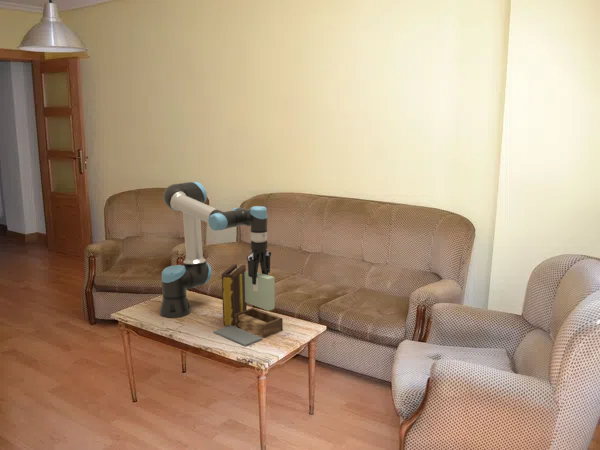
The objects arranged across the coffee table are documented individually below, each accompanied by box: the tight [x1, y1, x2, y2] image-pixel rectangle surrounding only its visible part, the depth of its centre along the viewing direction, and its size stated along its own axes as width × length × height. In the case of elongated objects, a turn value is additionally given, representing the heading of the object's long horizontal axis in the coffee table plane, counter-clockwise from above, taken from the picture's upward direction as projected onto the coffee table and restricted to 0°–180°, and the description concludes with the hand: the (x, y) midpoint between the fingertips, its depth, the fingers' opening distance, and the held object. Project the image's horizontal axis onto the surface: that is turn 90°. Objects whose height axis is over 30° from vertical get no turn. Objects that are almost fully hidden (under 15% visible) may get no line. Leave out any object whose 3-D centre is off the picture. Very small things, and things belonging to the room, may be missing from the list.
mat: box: [213, 325, 263, 347], centre depth 240 cm, size 22×10×1 cm, turn 47°
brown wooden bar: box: [237, 314, 267, 337], centre depth 246 cm, size 17×4×5 cm, turn 47°
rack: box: [234, 307, 284, 339], centre depth 249 cm, size 20×12×6 cm, turn 47°
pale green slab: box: [245, 270, 276, 312], centre depth 247 cm, size 16×4×15 cm, turn 47°
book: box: [221, 263, 248, 327], centre depth 260 cm, size 22×8×25 cm, turn 168°
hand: (259, 289), depth 247 cm, fingers closed on pale green slab, 4 cm apart
